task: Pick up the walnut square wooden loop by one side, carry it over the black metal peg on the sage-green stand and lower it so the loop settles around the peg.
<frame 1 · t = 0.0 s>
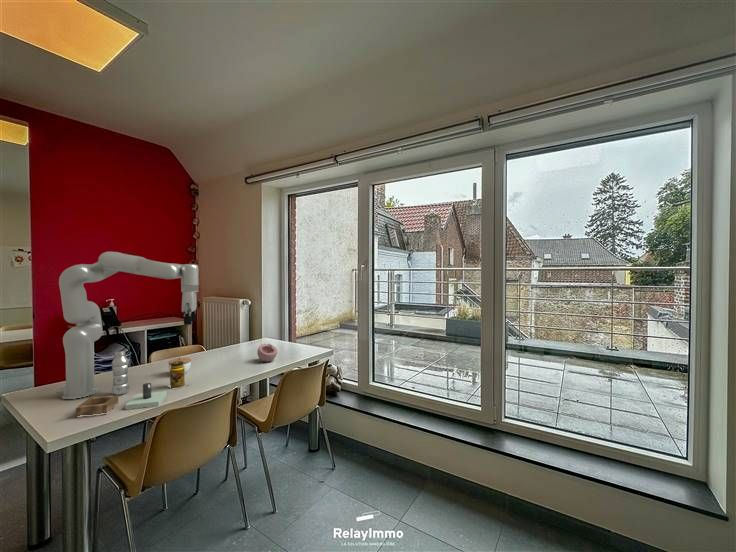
hand: (190, 322, 158), 31 cm above the table, tool pointing down, fingers open, 9 cm apart
condiment: (176, 386, 157), on the table
white round bowl: (180, 374, 174), on the table
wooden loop: (98, 410, 129), on the table
pink round bowl: (267, 361, 199), on the table
peg stand: (147, 402, 138), on the table
plastic bottle: (120, 394, 146), on the table
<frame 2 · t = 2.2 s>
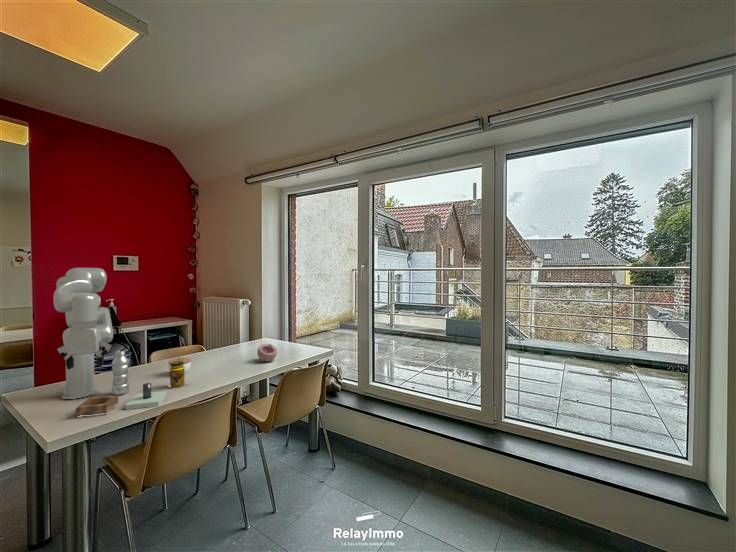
hand: (85, 367, 127), 18 cm above the table, tool pointing down, fingers open, 9 cm apart
nothing on the table moved.
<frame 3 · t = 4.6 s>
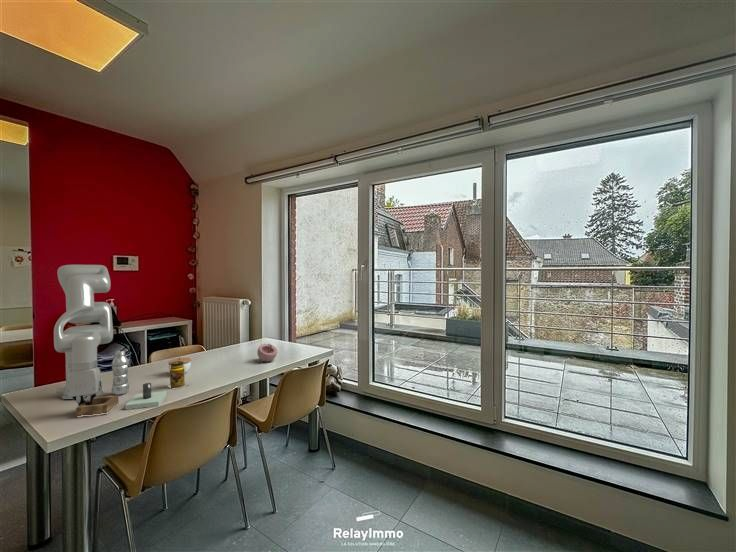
hand: (85, 410, 128), 1 cm above the table, tool pointing down, fingers closed on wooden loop
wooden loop: (98, 410, 129), on the table, touching gripper
everything else where it was.
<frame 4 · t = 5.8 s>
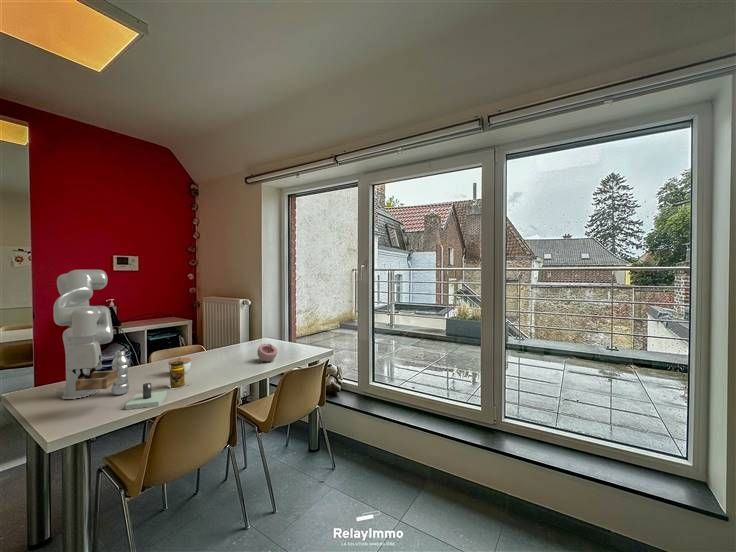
hand: (84, 384, 128), 11 cm above the table, tool pointing down, fingers closed on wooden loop
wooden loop: (97, 384, 129), point 11 cm above the table, touching gripper
everything else where it was.
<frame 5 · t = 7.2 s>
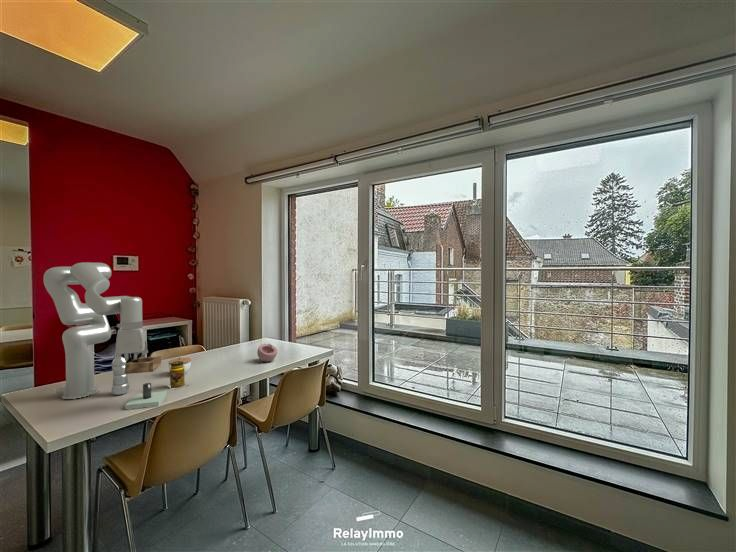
hand: (132, 368, 135), 15 cm above the table, tool pointing down, fingers closed on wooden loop
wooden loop: (144, 369, 136), point 15 cm above the table, touching gripper
everything else where it was.
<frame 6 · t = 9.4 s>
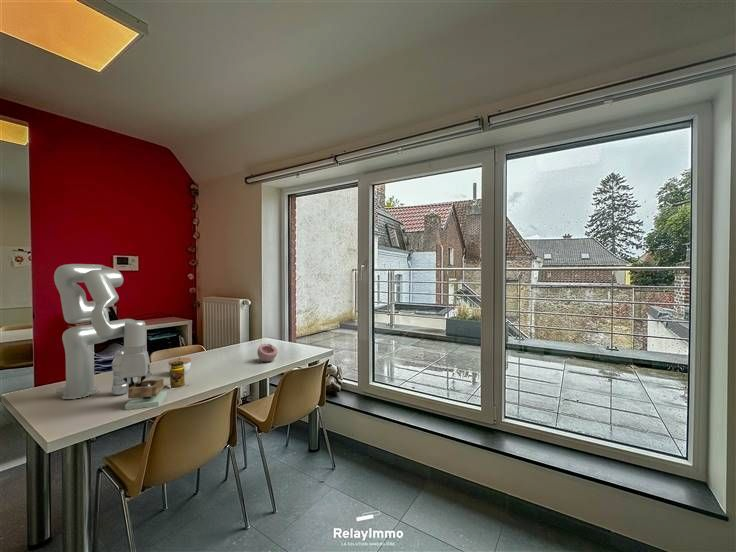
hand: (135, 391, 136), 5 cm above the table, tool pointing down, fingers closed on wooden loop
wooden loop: (146, 392, 137), point 4 cm above the table, touching gripper
everything else where it was.
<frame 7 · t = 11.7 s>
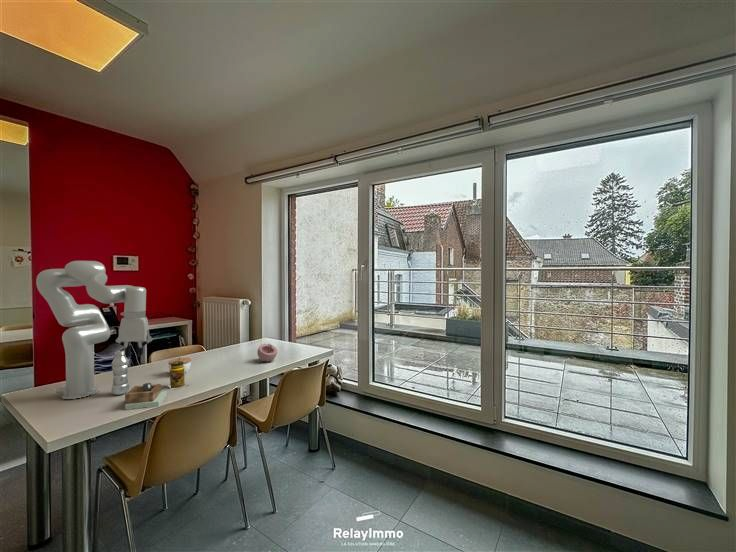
hand: (133, 355, 139), 20 cm above the table, tool pointing down, fingers open, 3 cm apart
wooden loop: (143, 398, 137), point 2 cm above the table, touching peg stand
everything else where it was.
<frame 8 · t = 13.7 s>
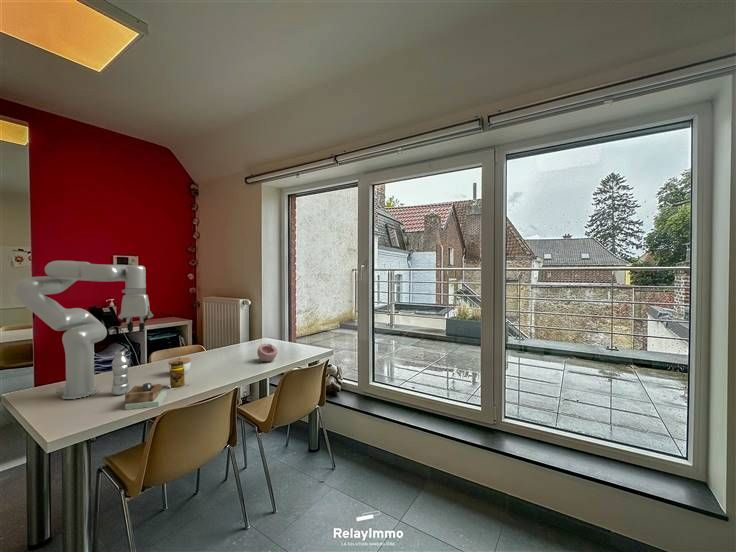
hand: (136, 331, 146), 29 cm above the table, tool pointing down, fingers open, 3 cm apart
nothing on the table moved.
at the end: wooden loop 1.2 cm from the peg stand (horizontally); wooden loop point 2.0 cm above the table; the gripper is holding nothing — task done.
